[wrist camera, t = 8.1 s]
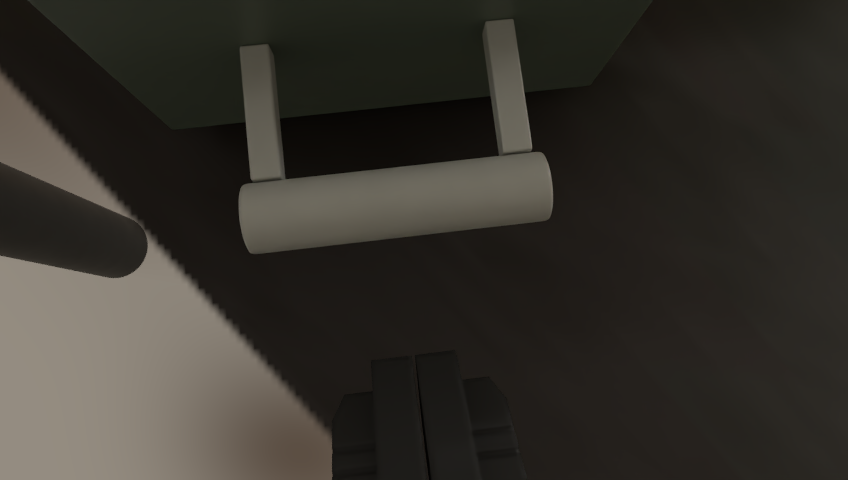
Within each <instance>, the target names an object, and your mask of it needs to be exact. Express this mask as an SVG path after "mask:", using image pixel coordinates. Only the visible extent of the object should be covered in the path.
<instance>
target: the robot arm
mask: <svg viewBox="0 0 848 480" xmlns="http://www.w3.org/2000/svg"><path fill="white" fill-rule="evenodd" d="M415 360H416V369H417V379H418V389H419V399H420V409H421V418H422V427H423V435H424V444H425V452H426V460H427V468H428V475H429V480H527V476H526V473H525V469H524V465H523V461H522V457H521V453H520V452H519V445H518V441H517V438H516V434H515V431H514V427H513V422H512V418H511V414H510V410H509V406H508V403H507V399H506V397H505V396H504V395H503V394H502V392H501V391H500V390H499V389H498V388H497V386H496V385H495V384H494V383H493V381H492V380H491V379H490V378H489V377H483V378H474V379H466V380H461V375H460V370H459V364H458V359H457V355H456V351H455V350H452V351H444V352H436V353H428V354H419V355H415ZM371 368H372V386H373V391H371V392H363V393H355V394H347V395H344V397H343V399H342V401H341V403H340V405H339V408H338V410H337V412H336V414H335V416H334V418H333V420H332V449H333V454H332V474H333V477H332V480H427V477H426V468H425V460H424V452H423V444H422V436H421V428H420V420H419V411H418V403H417V395H416V387H415V379H414V371H413V363H412V356H405V357H396V358H388V359H380V360H372V361H371Z"/></svg>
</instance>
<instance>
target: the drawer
mask: <svg viewBox="0 0 848 480" xmlns="http://www.w3.org/2000/svg"><path fill="white" fill-rule="evenodd" d="M28 1H29V2H30V3H31V4H32V5H33V6H34V7H35V8H37V9H38V10H39V11H40V12H41V13H42V14H43V15H44V16H45V17H47V18H48V19H49V20H50V21H51V22H52V23H53V24H54V25H56V26H57V27H58V28H59V29H60V30H61V31H62V32H63V33H64V34H66V35H67V36H68V37H69V38H70V39H71V40H72V41H73V42H75V43H76V44H77V45H78V46H79V47H80V48H81V49H82V50H83V51H85V52H86V53H87V54H88V55H89V56H90V57H91V58H92V59H94V60H95V61H96V62H97V63H98V64H99V65H100V66H101V67H102V68H104V69H105V70H106V71H107V72H108V73H109V74H110V75H111V76H113V77H114V78H115V79H116V80H117V81H118V82H119V83H120V84H121V85H123V86H124V87H125V88H126V89H127V90H128V91H129V92H130V93H132V94H133V95H134V96H135V97H136V98H137V99H138V100H139V101H140V102H142V103H143V104H144V105H145V106H146V107H147V108H148V109H149V110H151V111H152V112H153V113H154V114H155V115H156V116H157V117H158V118H159V119H161V120H162V121H163V122H164V123H165V124H166V125H167V126H168V127H170V128H171V129H172V130H177V129H186V128H196V127H205V126H214V125H224V124H233V123H243V122H246V131H247V142H248V154H249V165H250V177H251V180H252V181H253V182H254V183H249V184H245V185H243V186H242V187H241V189H240V193H239V219H240V226H241V231H242V236H243V239H244V242H245V245H246V247H247V249H248V251H249V252H250V253H252V254H262V253H270V252H279V251H288V250H296V249H305V248H314V247H323V246H331V245H340V244H349V243H357V242H366V241H375V240H383V239H392V238H401V237H410V236H418V235H427V234H436V233H444V232H453V231H462V230H470V229H479V228H488V227H497V226H505V225H514V224H523V223H531V222H540V221H546V220H548V219H549V218H550V216H551V212H552V207H553V186H552V178H551V172H550V168H549V165H548V162H547V160H546V157H545V155H544V154H543V153H541V152H531V150H532V141H531V134H530V128H529V121H528V114H527V107H526V100H525V94H524V93H525V92H534V91H544V90H553V89H563V88H572V87H581V86H590V85H591V84H592V83H593V81H594V80H595V78H596V77H597V76H598V74H599V73H600V72H601V70H602V69H603V68H604V66H605V65H606V64H607V62H608V61H609V59H610V58H611V57H612V55H613V54H614V53H615V51H616V50H617V49H618V47H619V46H620V44H621V43H622V42H623V40H624V39H625V38H626V36H627V35H628V34H629V32H630V31H631V30H632V28H633V27H634V25H635V24H636V23H637V21H638V20H639V19H640V17H641V16H642V15H643V13H644V12H645V10H646V9H647V8H648V6H649V5H650V4H651V2H652V1H653V0H28ZM487 96H491V102H492V109H493V116H494V123H495V130H496V137H497V145H498V152H499V156H494V157H485V158H476V159H467V160H458V161H448V162H439V163H430V164H421V165H412V166H403V167H394V168H385V169H376V170H367V171H358V172H349V173H340V174H331V175H322V176H312V177H303V178H294V179H285V169H284V159H283V148H282V137H281V127H280V118H290V117H299V116H309V115H318V114H327V113H337V112H346V111H356V110H365V109H374V108H384V107H393V106H403V105H412V104H421V103H431V102H440V101H450V100H459V99H469V98H478V97H487Z"/></svg>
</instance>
